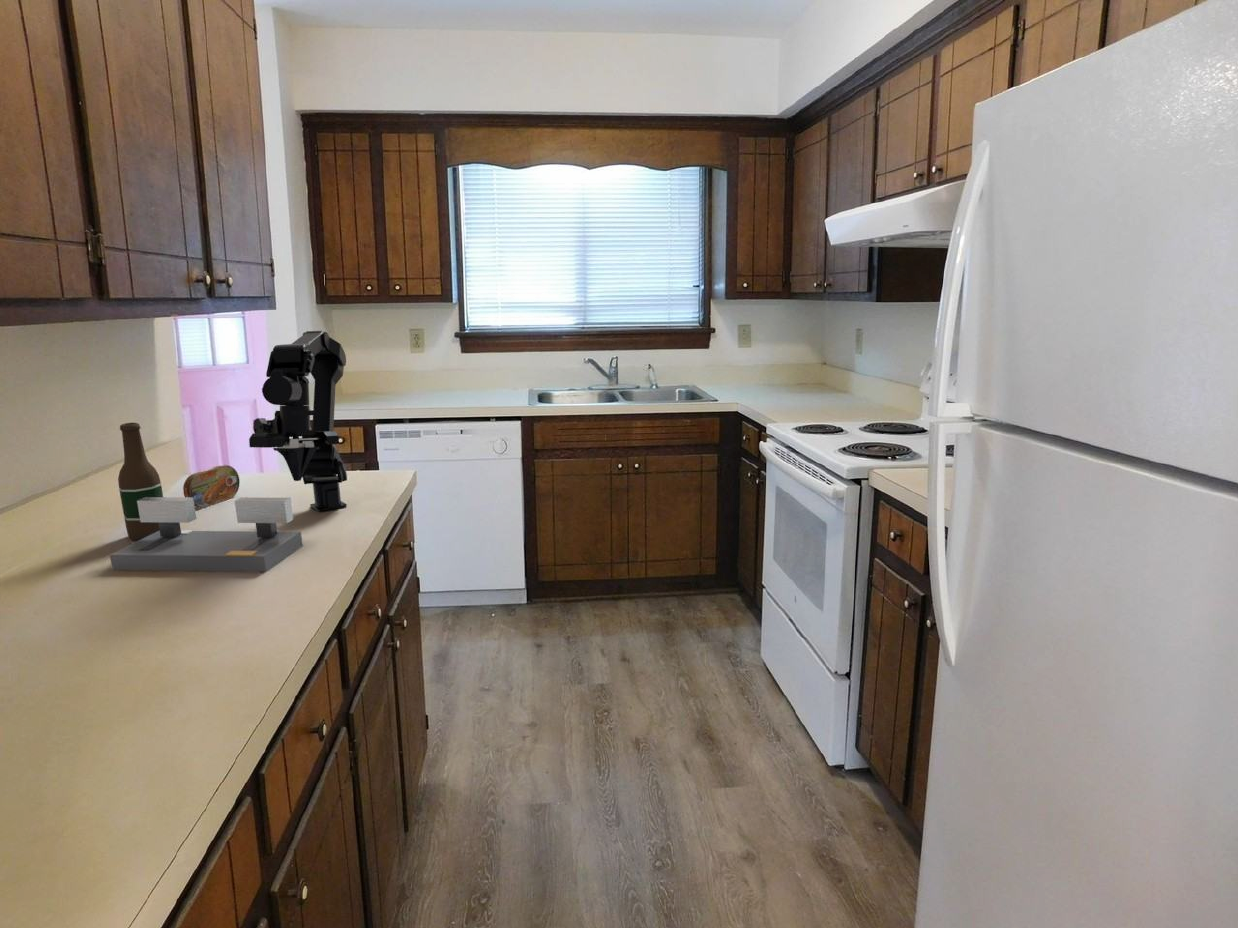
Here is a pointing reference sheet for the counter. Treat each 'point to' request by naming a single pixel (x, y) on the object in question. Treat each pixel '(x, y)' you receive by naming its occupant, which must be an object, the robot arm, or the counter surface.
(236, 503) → the switch
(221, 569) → the switch panel
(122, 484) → the beer bottle
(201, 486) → the tin
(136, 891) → the counter surface
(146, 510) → the switch
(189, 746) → the counter surface
